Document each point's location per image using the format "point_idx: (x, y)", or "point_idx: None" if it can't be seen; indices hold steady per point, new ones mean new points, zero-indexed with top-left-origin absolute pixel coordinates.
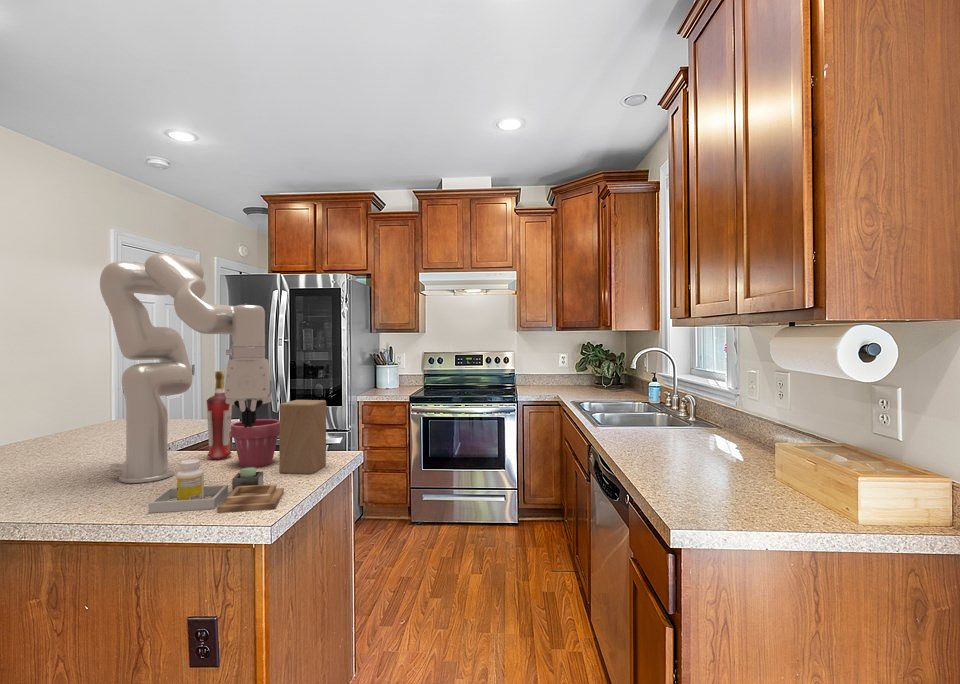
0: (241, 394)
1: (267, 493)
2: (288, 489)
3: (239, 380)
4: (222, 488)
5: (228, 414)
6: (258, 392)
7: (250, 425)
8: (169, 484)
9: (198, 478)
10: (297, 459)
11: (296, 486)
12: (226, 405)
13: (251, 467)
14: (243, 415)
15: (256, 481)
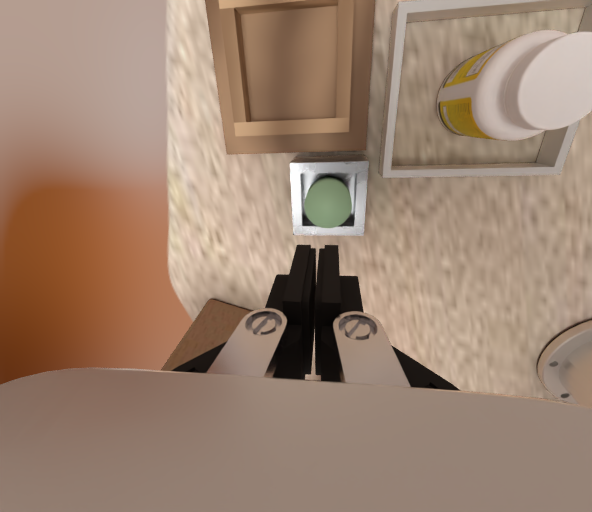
0: (390, 468)
1: (230, 17)
2: (228, 183)
3: None
4: (391, 139)
5: None
6: (16, 472)
7: (299, 247)
8: (542, 289)
9: (484, 62)
10: (233, 331)
11: (216, 206)
12: None
13: (322, 226)
14: (350, 305)
15: (297, 161)
